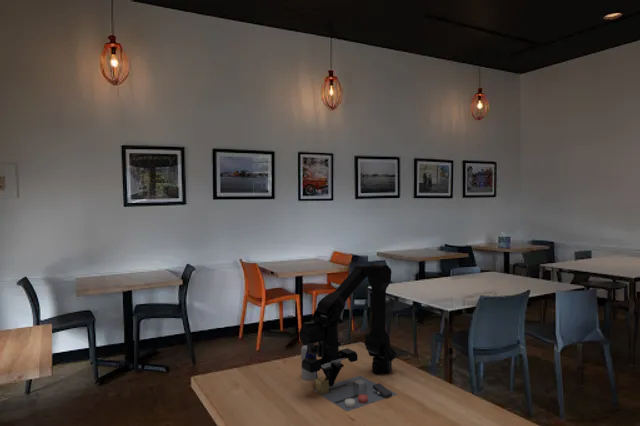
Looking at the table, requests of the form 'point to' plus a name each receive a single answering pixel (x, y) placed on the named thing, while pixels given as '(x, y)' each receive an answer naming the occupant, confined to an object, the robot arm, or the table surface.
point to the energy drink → (305, 374)
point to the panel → (346, 399)
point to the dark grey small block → (382, 390)
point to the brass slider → (322, 385)
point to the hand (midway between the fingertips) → (330, 385)
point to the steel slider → (359, 387)
